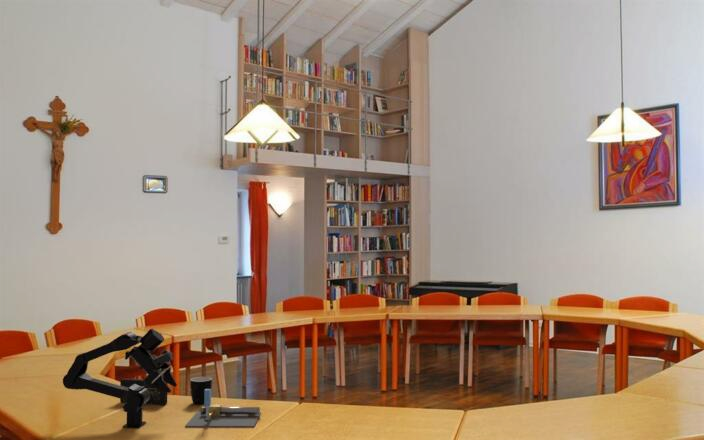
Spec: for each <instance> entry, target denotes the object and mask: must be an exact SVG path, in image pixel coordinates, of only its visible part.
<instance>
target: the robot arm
mask: <svg viewBox="0 0 704 440" xmlns="http://www.w3.org/2000/svg"><path fill="white" fill-rule="evenodd" d="M164 341H165V338H164V335H162V333H161V332H158V331H157V330H155V329H154V328H153V327H152V328H150V329H149V330H148V331H147V332H146V333H145V334H144V335H143V336H142V335H137V334H135V333H133V332H132V331H130V332H125V333H123V334H121V335H120V336H119V335H118V336H117V337H116V338H114V339H112V341H110V342H108V343H106V344H104V345H101V346H99V347H96V348H94V349H91V350H89V351H85V352H82V353H80V354H77V355H76V356H75V358H74V360H73V363H72V364H71V366H70V367H69V369H68V371H67V373H66V374H65V375H64V376H63V378H62V384H63V386H64V388H65V389H68V390H88V391H91V392H93V393H94V392H95V393H99V394H103V395H106V396H109V397H113V398H116V399H119V400H120V399H122V400H123V401H125V402H126V403H124V405H123V406H122V409H123V412H124V413H126V423H125V424H124V425H122V428H130V429H131V428H133V429H134V428H135V429H139V428H141V427H142V426H144V425H146V424H147V421H143V416H144V415H143V409H144V408H143V407H145V406H146V405H147V404H146V402H147V401H148V400H149V399H150V392H149V390H148V389H146V388H144V387H145V386H139V385H137V384H134V385H132V386H130V387H129V388H128V387H123V386H120V385H119V384H116V383H112V382H108V381H104V380H101V379H98V378H94V377H92V376H91V375H89V374H88V373H87V369H88V365H89V362H91V361H93V360H95V359H98V358H101V357H103V356H106V355H108V354H112V353H115V352H121V351H125V350H127V351H125V357H124V360H126V361H127V360H128V359H130V358H131V359H132V360H134V361H135V363H137V365H138V366H139V369H140V370H143V371H144V372H145V373H146V374H147V375H146V376H145V378H144V379H143V380H144V384H145V385H146V386H148V385H149V384H150V383H152V384H151V385H150V387H154V388H157V389H160V390H162V391H165V392H167V394H170V393H171V392H172V389H171V387H170V386H173V387H174V388H176V387H177V386H178V383H177V382H176V380H175V378H174V376H173V374H172V366H171V365H172V363H171V361H173V360H174V356H173V352H172V351H171V350H168V349H165V350H163V351H162V354H160V355H159V356H156V354H153V355H152V354H151V353H150V351H151V352H154V351H155V350H156V349H157V348H158V347H160V345H162V344H163V343H164ZM137 345H138V346H137ZM129 349H130V350H129ZM166 383H167V384H166ZM168 384H169V385H170V386H169V385H168Z"/></svg>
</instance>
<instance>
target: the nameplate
mask: <svg viewBox="0 0 704 440" xmlns="http://www.w3.org/2000/svg"><path fill="white" fill-rule="evenodd" d="M134 384H137V385H139V386H145V387H144V388H146V389H148V390H149V392H150V399H149V400H148V401H147V402H146V404H145V405H152V406H153V405H154V406H165V405H167V404H168V392H165V391H162V390H160V389H157V388H154V387H150V385H151V384H152V383H150V384H149V385H148V386H146V385H145V384H144V379H140V378H139V379H137V378H123V379H121V380H120V386H123V387H128V388H129V387H130V386H132V385H134ZM166 384H167V385H168V383H166ZM119 400H120V403H121V404H126V402H125V401H123V400H122V399H120V398H119Z"/></svg>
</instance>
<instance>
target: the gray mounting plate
mask: <svg viewBox="0 0 704 440" xmlns="http://www.w3.org/2000/svg"><path fill="white" fill-rule="evenodd" d="M261 415H262V412H261V411H260V414H255V416H254V417H248V414H233V415H232V417H225V414H221V416H220V417H210V418H211V419H210V421H209V422H205V420H204V419H205V417H206V414H204V415H201V414H200V411H197V412H195V413H194V415H193V416H192V417H191V418H190V419H189V420H188V422H187V423H186V424H185V425H184V428H230V429H231V428H238V429H239V428H244V429H245V428H246V429H247V428H250V429H251V428H255V427H256V425H257V423H258V421H259V419H260V417H261Z"/></svg>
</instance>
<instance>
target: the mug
mask: <svg viewBox="0 0 704 440" xmlns="http://www.w3.org/2000/svg"><path fill="white" fill-rule="evenodd" d="M212 380H213V379H212V377H209V376H196V377H192V378H191V379H190V384H189V385H190V397H191V401H192V403H193V404H194V405H199V406H201V405H202V406H204V393H205V389H211V390H212V388H213V387H212V384H213V381H212Z"/></svg>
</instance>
